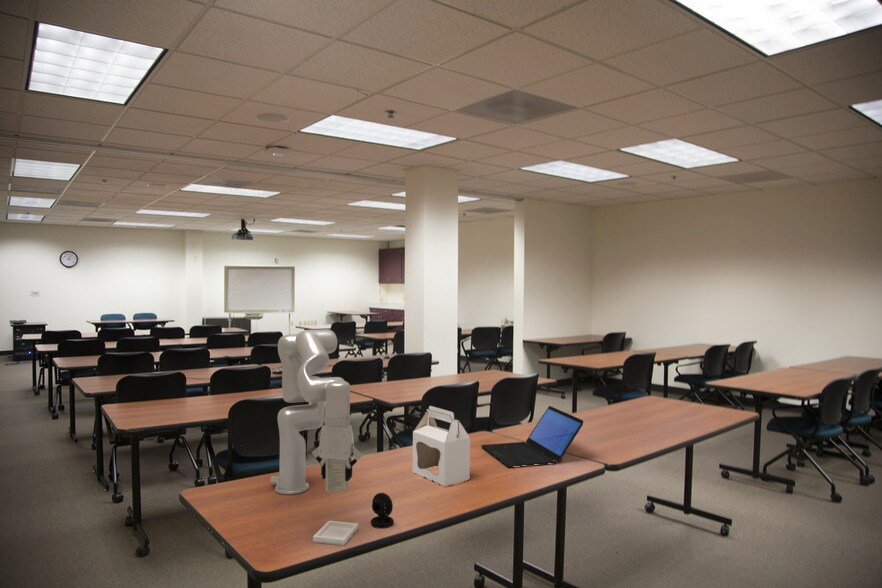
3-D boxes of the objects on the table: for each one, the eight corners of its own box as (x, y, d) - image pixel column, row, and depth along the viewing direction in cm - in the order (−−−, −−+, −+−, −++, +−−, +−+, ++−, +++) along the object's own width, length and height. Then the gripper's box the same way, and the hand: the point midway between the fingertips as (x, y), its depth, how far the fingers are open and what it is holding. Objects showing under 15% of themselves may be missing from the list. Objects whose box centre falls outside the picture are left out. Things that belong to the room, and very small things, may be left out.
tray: (312, 542, 167) (313, 536, 167) (328, 526, 179) (329, 520, 179) (344, 546, 165) (344, 540, 165) (358, 529, 177) (358, 523, 177)
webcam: (365, 524, 181) (365, 494, 181) (380, 517, 187) (380, 487, 187) (384, 530, 176) (384, 499, 176) (398, 522, 183) (399, 492, 183)
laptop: (480, 448, 272) (481, 409, 272) (549, 443, 283) (550, 405, 283) (507, 469, 240) (508, 424, 240) (584, 463, 251) (585, 420, 251)
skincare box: (347, 486, 175) (348, 447, 175) (345, 491, 170) (346, 451, 170) (327, 486, 174) (327, 447, 174) (324, 491, 170) (325, 451, 170)
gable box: (411, 472, 233) (412, 406, 233) (436, 466, 242) (437, 402, 242) (444, 487, 216) (445, 415, 216) (470, 480, 224) (471, 411, 224)
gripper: (306, 422, 170) (305, 480, 170) (359, 426, 167) (358, 485, 167) (316, 417, 178) (315, 472, 178) (368, 420, 174) (367, 477, 174)
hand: (336, 478), depth 172 cm, fingers closed on skincare box, 6 cm apart
